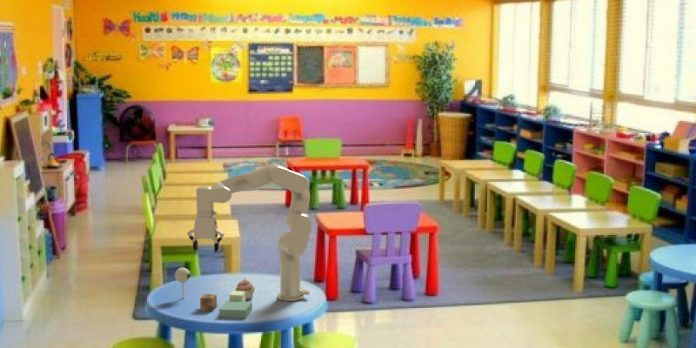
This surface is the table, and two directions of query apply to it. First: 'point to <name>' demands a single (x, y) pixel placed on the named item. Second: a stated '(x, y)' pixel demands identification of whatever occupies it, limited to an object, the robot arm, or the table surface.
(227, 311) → the base block
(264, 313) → the table surface
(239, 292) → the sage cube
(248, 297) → the cupcake
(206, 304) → the walnut cube
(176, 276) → the lollipop
